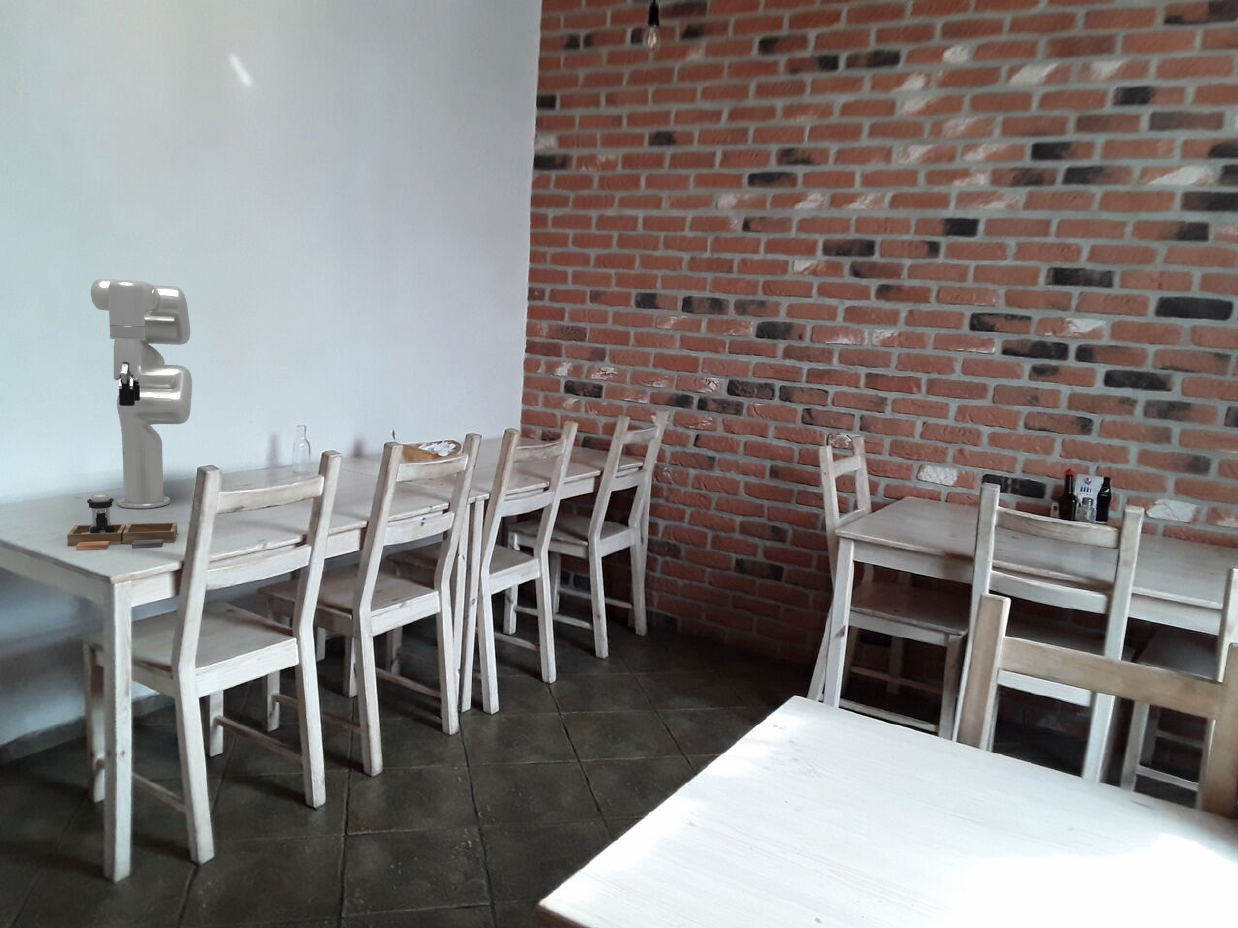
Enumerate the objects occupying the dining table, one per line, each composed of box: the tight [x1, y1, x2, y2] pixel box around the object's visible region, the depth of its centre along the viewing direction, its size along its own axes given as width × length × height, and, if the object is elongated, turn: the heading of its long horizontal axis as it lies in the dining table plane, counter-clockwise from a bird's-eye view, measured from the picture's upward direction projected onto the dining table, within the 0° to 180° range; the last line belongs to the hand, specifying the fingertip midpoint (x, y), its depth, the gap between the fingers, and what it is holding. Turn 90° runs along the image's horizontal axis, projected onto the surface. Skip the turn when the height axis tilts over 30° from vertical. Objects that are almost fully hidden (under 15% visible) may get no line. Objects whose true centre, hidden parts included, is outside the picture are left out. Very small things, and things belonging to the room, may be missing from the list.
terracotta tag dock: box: [66, 523, 127, 551], centre depth 202 cm, size 12×11×3 cm
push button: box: [82, 493, 115, 534], centre depth 203 cm, size 7×5×10 cm
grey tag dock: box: [122, 522, 178, 549], centre depth 206 cm, size 12×11×3 cm
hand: (130, 403), depth 215 cm, fingers open, 9 cm apart
